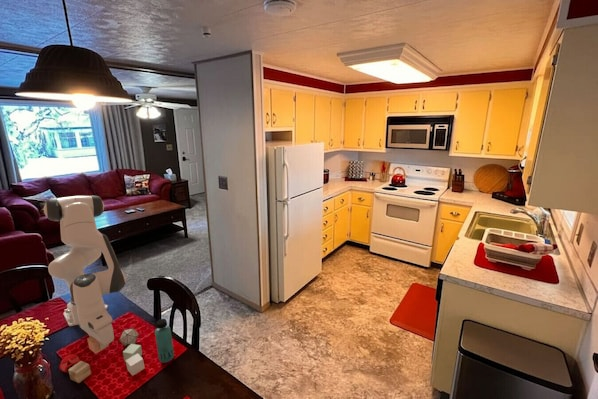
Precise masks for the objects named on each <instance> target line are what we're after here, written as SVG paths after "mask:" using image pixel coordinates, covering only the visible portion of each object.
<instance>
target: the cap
mask: <svg viewBox="0 0 598 399" xmlns="http://www.w3.org/2000/svg"><path fill="white" fill-rule="evenodd" d="M78 362H80V357H79V356H78V354H69V355H66V356H65V357H64V358H63V359H62V360H61V361H60V364H59V370H61V372H63V373H69V371H68V370H69V368H71V366H74V365H75V364H77V363H78Z"/></svg>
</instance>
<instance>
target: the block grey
mask: <svg viewBox="0 0 598 399" xmlns="http://www.w3.org/2000/svg"><path fill="white" fill-rule="evenodd" d="M125 364H126V370H127V371H128V372H129V374H130V375H131V377H133V376H134V375H137V374H138V373H140V372H141V371H143V370H144V369H146V368H145V363H144V359H143V357H142V355H141V356H140V355H139V354H138V353H137V354H136V355H134V356H132V357H130V358H129V359H127V360H126V361H125Z"/></svg>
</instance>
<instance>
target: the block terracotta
mask: <svg viewBox="0 0 598 399" xmlns="http://www.w3.org/2000/svg"><path fill="white" fill-rule="evenodd" d="M86 339H87V343H88V348H89V350H90V351H92V352H93V353H94V354H96V355H97V354H98V353H99V352H101V351H104V350H105V349H106V348H108V347H109V346H110V343H109V344H107V345H106V346H105V347H104V348H102V349H101V348H100V347H99V344H100V342H99V341H97V340H96V339H95V338H93V337H92V336H91V337H90V336H89V337H87V338H86Z"/></svg>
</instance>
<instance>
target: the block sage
mask: <svg viewBox="0 0 598 399" xmlns="http://www.w3.org/2000/svg"><path fill="white" fill-rule="evenodd" d="M137 353H138V354H139V355H140V356H141V357H142V355H143V349H142V345H141V344H130V345H128V346H127V347H126V348H125V349H124V350H123V351H122V356H123V361H124V362H126V360H127V359H129V358H130V357H132V356H134V355H136V354H137Z"/></svg>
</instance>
